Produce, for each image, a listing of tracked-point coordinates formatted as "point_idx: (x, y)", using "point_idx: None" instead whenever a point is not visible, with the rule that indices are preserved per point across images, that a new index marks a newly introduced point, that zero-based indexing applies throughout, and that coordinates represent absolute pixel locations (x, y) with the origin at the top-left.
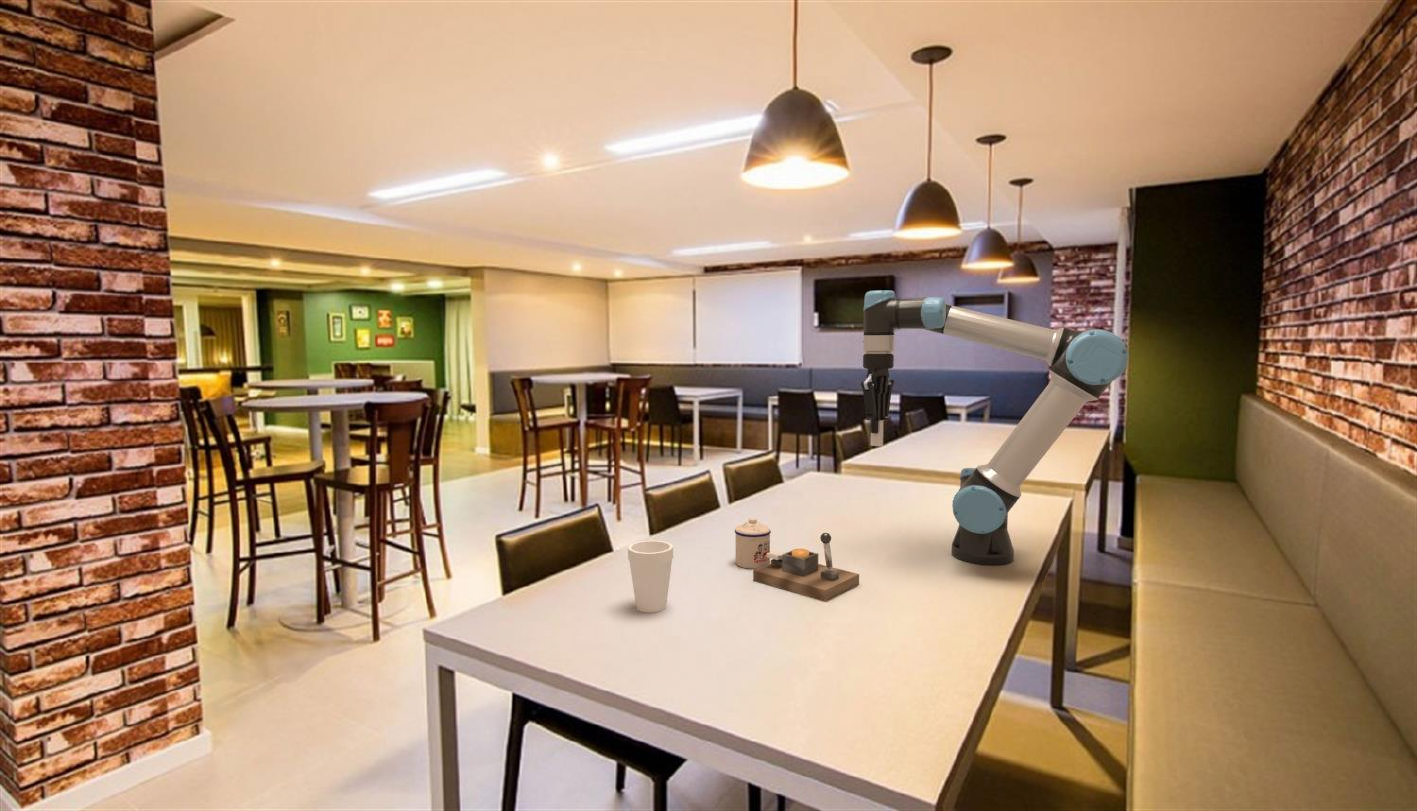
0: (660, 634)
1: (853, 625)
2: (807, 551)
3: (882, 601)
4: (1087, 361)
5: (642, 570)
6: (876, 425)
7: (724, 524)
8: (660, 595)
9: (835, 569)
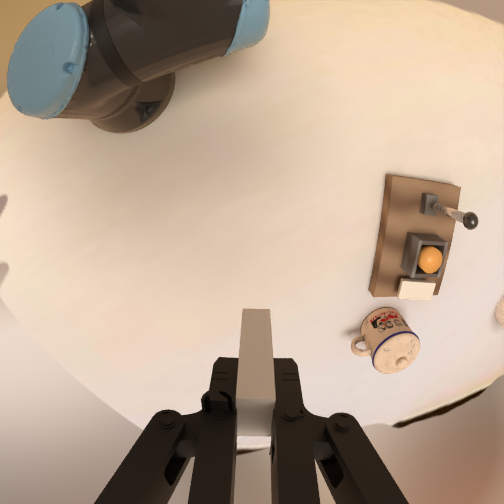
0: None
1: (482, 133)
2: (430, 253)
3: (418, 125)
4: None
5: None
6: (295, 388)
7: None
8: None
9: (393, 214)
